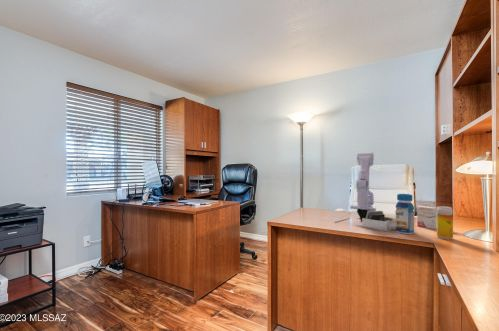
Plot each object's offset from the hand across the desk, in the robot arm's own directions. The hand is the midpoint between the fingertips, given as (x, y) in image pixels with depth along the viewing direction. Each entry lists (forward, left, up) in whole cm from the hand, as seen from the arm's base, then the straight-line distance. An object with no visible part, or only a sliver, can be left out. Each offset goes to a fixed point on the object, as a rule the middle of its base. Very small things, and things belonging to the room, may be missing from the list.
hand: (362, 222), depth 146 cm
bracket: (0, +9, -1) cm, 9 cm away
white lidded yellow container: (-1, +39, -1) cm, 39 cm away
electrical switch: (+1, +8, -1) cm, 8 cm away
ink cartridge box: (-21, +27, -1) cm, 34 cm away
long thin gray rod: (0, -13, -1) cm, 13 cm away
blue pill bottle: (+2, +23, -1) cm, 23 cm away
